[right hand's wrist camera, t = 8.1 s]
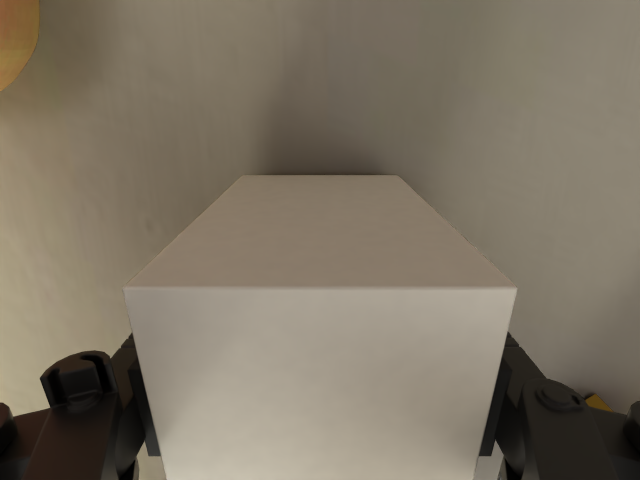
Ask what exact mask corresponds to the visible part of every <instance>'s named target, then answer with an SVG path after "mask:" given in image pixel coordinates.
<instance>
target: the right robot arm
mask: <svg viewBox="0 0 640 480" xmlns="http://www.w3.org/2000/svg"><path fill="white" fill-rule="evenodd" d="M40 380H41V383H42V386H43V389H44V391H45V394H46V397H47V399H48V402H49V405H50V408H48V409H44V410H40V411H36V412H32V413H27V414H23V415H19V416H15V417H13V415H12V413H11V411H10V408H9V407H8V406H7V405H5V404H4V403H0V480H138V477H139V466H138V460H137V457H136V456H137V454H138V452H139V450H140V448H141V446H142V444H143V442H144V441H145V443H146V447H147V451H148V455H149V456H161V454H160V449H159V445H158V441H157V436H156V432H155V428H154V424H153V419H152V415H151V411H150V406H149V402H148V398H147V393H146V389H145V385H144V381H143V376H142V372H141V368H140V363H139V359H138V355H137V350H136V346H135V342H134V337H133V333H131V334H130V336H129V338H128V339H126V341H125V342H124V343H123V344H122V345H121V348H119V349H118V350H117V352H116V353H115V354H114V355H113V357H112V358H111V359H110V356H109V355H107V354H106V353H105V352H101V351H95V350H94V351H84V352H80V353H77V354H73V355H70V356H68V357H66V358H64V359H62V360H60V361H58V362H56V363H55V364H53V365H52V366H51V367H49V368H48V369H47V370H46V371H45V372H44V373H43V375H42V376H41V377H40ZM495 439H496V441H497V443H498V445H499V447H500V449H501V451H502V453H503V455H504V457H503V460H502V464H501V468H500V472H499V475H498V479H497V480H640V401H637V402H636V403H634V404H633V405H631V407H630V410H629V412H628V415H624V414H619V413H615V412H611V411H606V410H602V409H598V408H594V407H590V406H588V404H587V403H586V401H585V400H584V398H583V397H581V396H580V395H579V394H578V393H577V392H575V391H574V390H573V389H571V388H569V387H567V386H566V385H564V384H562V383H559V382H556V381H553V380H550V379H547V378H546V377H545V376H544V375H543V374H542V372H541V371H540V370H539V369H538V367H537V366H536V365H535V364H534V363H533V361H532V360H531V359H530V358H529V356H528V355H527V354H526V353H525V352H524V350H523V349H522V348H521V347H519V344H518V343H517V342H516V341H515V339H514V338H512V337H511V334H510V333H509V332H507V336H506V341H505V345H504V349H503V354H502V358H501V362H500V367H499V371H498V375H497V379H496V384H495V388H494V392H493V397H492V401H491V405H490V410H489V414H488V418H487V423H486V427H485V431H484V436H483V440H482V444H481V448H480V453H479V456H491V454H492V450H493V446H494V442H495Z"/></svg>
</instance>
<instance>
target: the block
mask: <svg viewBox="0 0 640 480" xmlns="http://www.w3.org/2000/svg"><path fill="white" fill-rule="evenodd" d="M516 293H517V287H516V286H515V285H514V284H513V283H512V282H511V281H510V280H509V279H508V278H507V277H506V276H505V275H503V274H502V273H501V272H500V271H499V270H498V269H497V268H496V267H495V266H494V265H493V264H492V263H491V262H490V261H489V260H487V259H486V258H485V257H484V256H483V255H482V254H481V253H480V252H479V251H478V250H477V249H476V248H475V247H474V246H473V245H472V244H470V243H469V242H468V241H467V240H466V239H465V238H464V237H463V236H462V235H461V234H460V233H459V232H458V231H457V230H456V229H454V228H453V227H452V226H451V225H450V224H449V223H448V222H447V221H446V220H445V219H444V218H443V217H442V216H441V215H440V214H439V213H437V212H436V211H435V210H434V209H433V208H432V207H431V206H430V205H429V204H428V203H427V202H426V201H425V200H424V199H423V198H421V197H420V196H419V195H418V194H417V193H416V192H415V191H414V190H413V189H412V188H411V187H410V186H409V185H408V184H407V183H405V182H404V181H403V180H402V179H401V178H400V177H399V176H398V175H242V176H241V177H240V178H239V179H238V180H237V181H235V182H234V183H233V184H232V185H231V186H230V187H229V188H228V189H227V190H226V191H225V192H224V193H223V194H222V195H221V196H219V197H218V198H217V199H216V200H215V201H214V202H213V203H212V204H211V205H210V206H209V207H208V208H207V209H206V210H205V211H203V212H202V213H201V214H200V215H199V216H198V217H197V218H196V219H195V220H194V221H193V222H192V223H191V224H190V225H189V226H187V227H186V228H185V229H184V230H183V231H182V232H181V233H180V234H179V235H178V236H177V237H176V238H175V239H174V240H173V241H171V242H170V243H169V244H168V245H167V246H166V247H165V248H164V249H163V250H162V251H161V252H160V253H159V254H158V255H157V256H155V257H154V258H153V259H152V260H151V261H150V262H149V263H148V264H147V265H146V266H145V267H144V268H143V269H142V270H141V271H140V272H138V273H137V274H136V275H135V276H134V277H133V278H132V279H131V280H130V281H129V282H128V283H127V284H126V285H125V286H124V287H123V294H124V299H125V303H126V307H127V312H128V316H129V320H130V325H131V329H132V333H133V337H134V342H135V346H136V350H137V355H138V359H139V363H140V368H141V372H142V376H143V381H144V385H145V389H146V393H147V398H148V402H149V406H150V411H151V415H152V419H153V424H154V428H155V432H156V436H157V441H158V445H159V449H160V454H161V458H162V462H163V467H164V471H165V475H166V480H473V479H474V474H475V470H476V466H477V461H478V457H479V453H480V448H481V444H482V440H483V436H484V431H485V427H486V423H487V418H488V414H489V410H490V405H491V401H492V397H493V392H494V388H495V384H496V379H497V375H498V371H499V367H500V362H501V358H502V354H503V349H504V345H505V341H506V336H507V332H508V328H509V323H510V319H511V315H512V311H513V306H514V302H515V298H516Z"/></svg>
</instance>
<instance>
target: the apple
mask: <svg viewBox="0 0 640 480" xmlns="http://www.w3.org/2000/svg"><path fill="white" fill-rule="evenodd" d="M39 27H40V9H39V0H0V91H2V90H3V89H4V88H6V87H7V86H8V85H10V84H11V83H12V82H13V81H14V80H15V79H16V78H17V76H18V75H19V74H20V72H21V71H22V69H23V68H24V66H25V65H26V63H27V62H28V60H29V59H30V57H31V55H32V53H33V51H34V49H35V47H36V44H37V40H38V36H39Z"/></svg>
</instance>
